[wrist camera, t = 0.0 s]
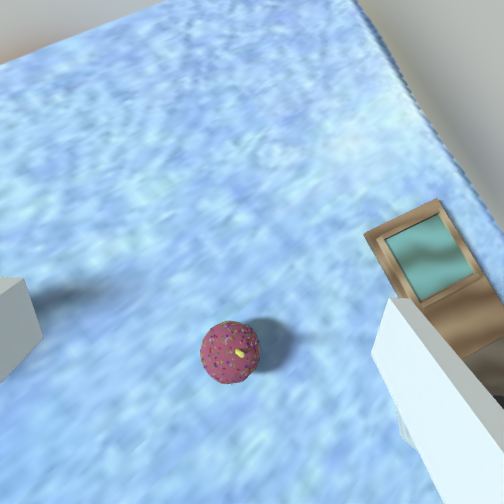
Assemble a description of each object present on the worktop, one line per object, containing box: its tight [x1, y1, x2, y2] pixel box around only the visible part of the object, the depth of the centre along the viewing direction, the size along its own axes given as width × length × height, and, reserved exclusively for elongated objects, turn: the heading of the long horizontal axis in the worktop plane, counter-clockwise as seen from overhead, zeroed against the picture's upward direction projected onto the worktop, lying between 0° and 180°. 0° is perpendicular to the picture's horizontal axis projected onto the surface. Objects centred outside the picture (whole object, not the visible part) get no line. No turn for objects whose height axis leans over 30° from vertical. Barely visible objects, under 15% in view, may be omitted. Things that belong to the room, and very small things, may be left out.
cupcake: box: [200, 321, 260, 384], centre depth 39 cm, size 9×8×12 cm
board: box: [363, 198, 504, 397], centre depth 46 cm, size 34×14×2 cm, turn 26°
